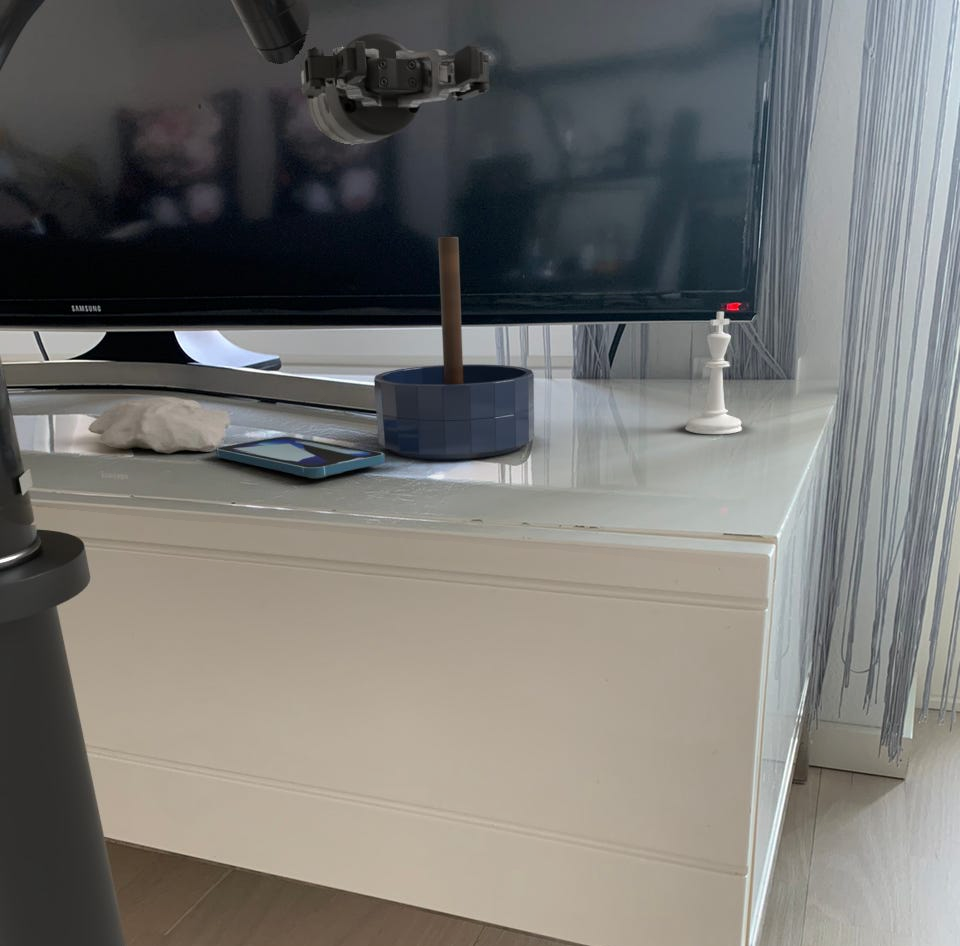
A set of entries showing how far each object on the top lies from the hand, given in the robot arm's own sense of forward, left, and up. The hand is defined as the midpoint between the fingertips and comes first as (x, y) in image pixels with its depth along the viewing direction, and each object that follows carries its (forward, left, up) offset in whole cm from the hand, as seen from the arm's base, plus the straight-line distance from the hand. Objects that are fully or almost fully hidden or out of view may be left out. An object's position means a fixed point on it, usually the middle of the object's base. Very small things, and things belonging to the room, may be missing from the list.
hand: (419, 59), depth 71 cm
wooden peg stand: (+3, -1, -28) cm, 28 cm away
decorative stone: (+1, +26, -29) cm, 39 cm away
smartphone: (-5, +10, -29) cm, 31 cm away
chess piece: (+13, -22, -29) cm, 38 cm away
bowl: (+3, -1, -29) cm, 29 cm away
